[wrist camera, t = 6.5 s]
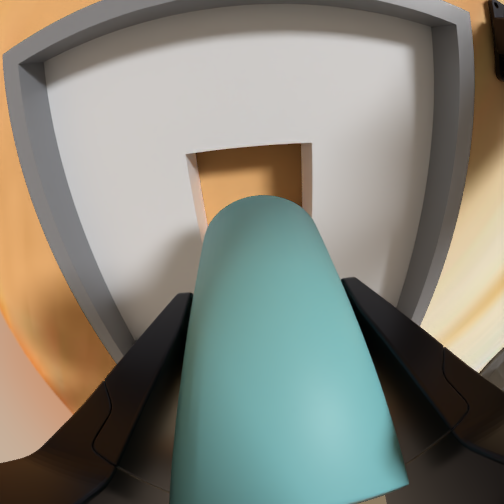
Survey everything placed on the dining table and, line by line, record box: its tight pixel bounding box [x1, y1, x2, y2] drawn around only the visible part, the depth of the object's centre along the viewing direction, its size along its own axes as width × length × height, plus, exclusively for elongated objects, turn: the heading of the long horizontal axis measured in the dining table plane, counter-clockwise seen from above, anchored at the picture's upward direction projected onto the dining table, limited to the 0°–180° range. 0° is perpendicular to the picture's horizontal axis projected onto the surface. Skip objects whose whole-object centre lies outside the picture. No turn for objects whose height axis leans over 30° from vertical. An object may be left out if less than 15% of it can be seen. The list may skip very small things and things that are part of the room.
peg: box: [169, 195, 409, 504], centre depth 6 cm, size 4×4×8 cm
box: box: [3, 0, 475, 364], centre depth 13 cm, size 20×20×4 cm
